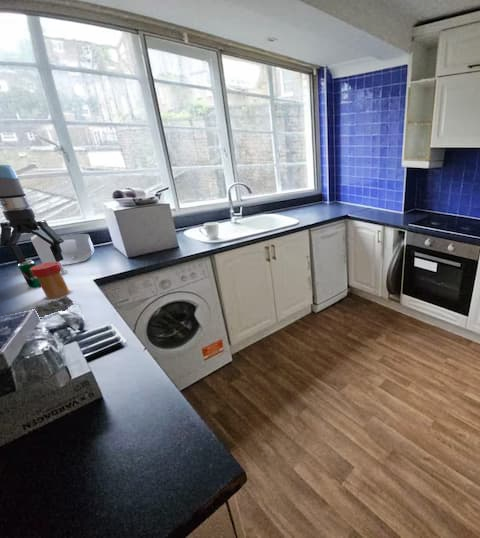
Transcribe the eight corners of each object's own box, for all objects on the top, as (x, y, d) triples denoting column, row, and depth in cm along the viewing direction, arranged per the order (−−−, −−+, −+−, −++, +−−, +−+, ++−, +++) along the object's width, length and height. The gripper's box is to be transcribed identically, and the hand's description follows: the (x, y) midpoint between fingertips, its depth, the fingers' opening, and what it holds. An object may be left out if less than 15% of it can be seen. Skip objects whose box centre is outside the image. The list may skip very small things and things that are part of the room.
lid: (45, 269, 123) (41, 262, 122) (66, 268, 124) (63, 261, 123) (27, 277, 116) (23, 270, 114) (50, 276, 116) (46, 269, 115)
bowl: (100, 250, 177) (93, 232, 172) (94, 260, 162) (86, 240, 157) (56, 257, 168) (47, 237, 163) (45, 268, 152) (34, 246, 148)
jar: (45, 300, 119) (31, 272, 114) (48, 294, 124) (35, 267, 120) (68, 295, 123) (55, 268, 118) (70, 289, 128) (58, 263, 123)
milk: (49, 277, 141) (27, 233, 132) (48, 274, 145) (27, 231, 136) (66, 273, 145) (46, 230, 137) (64, 270, 149) (45, 228, 140)
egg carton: (38, 321, 105) (32, 311, 104) (33, 315, 109) (28, 305, 108) (76, 308, 113) (72, 298, 112) (70, 302, 117) (66, 293, 116)
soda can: (45, 282, 136) (33, 258, 131) (45, 285, 133) (33, 261, 128) (29, 286, 133) (17, 261, 128) (29, 289, 129) (16, 264, 125)
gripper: (-33, 212, 105) (-4, 266, 113) (45, 209, 108) (68, 263, 116) (-11, 208, 111) (14, 260, 120) (61, 205, 114) (82, 256, 123)
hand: (41, 261), depth 118 cm, fingers open, 13 cm apart
